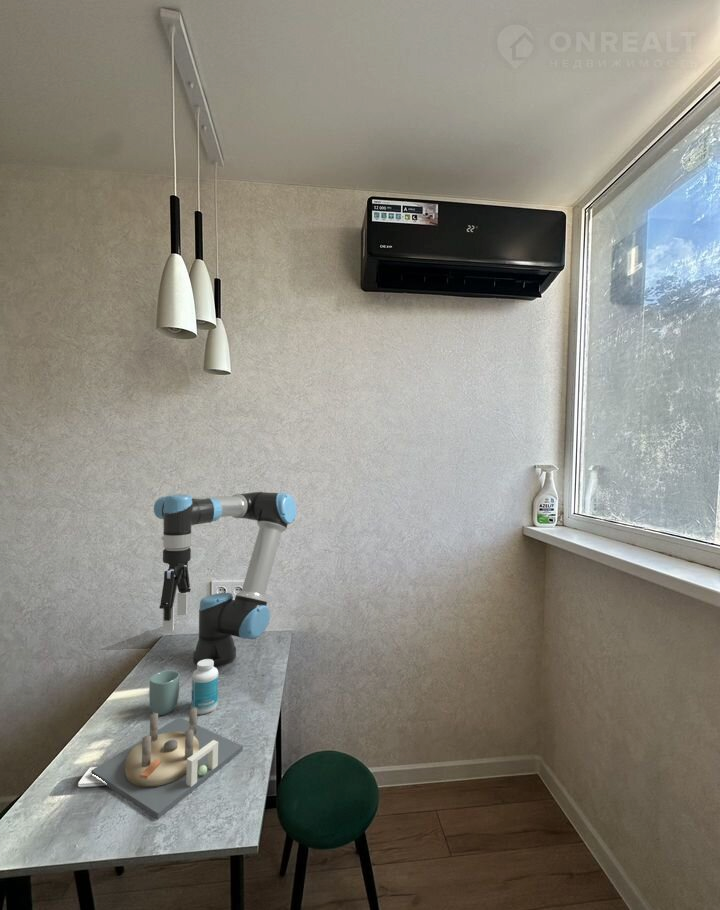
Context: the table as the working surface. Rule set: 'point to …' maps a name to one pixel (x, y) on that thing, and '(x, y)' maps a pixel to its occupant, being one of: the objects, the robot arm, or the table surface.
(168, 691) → the cup
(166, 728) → the stand
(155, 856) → the table surface
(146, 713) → the table surface
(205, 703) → the pill bottle
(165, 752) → the disc
